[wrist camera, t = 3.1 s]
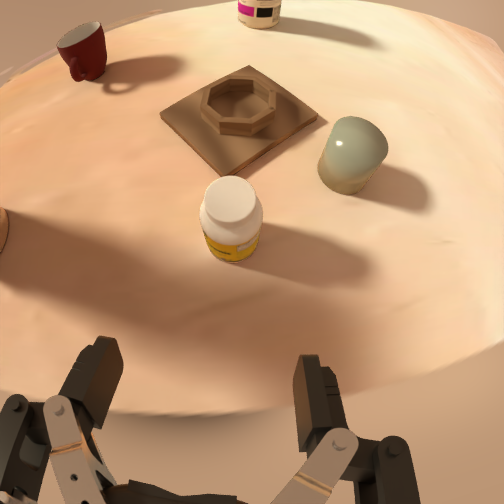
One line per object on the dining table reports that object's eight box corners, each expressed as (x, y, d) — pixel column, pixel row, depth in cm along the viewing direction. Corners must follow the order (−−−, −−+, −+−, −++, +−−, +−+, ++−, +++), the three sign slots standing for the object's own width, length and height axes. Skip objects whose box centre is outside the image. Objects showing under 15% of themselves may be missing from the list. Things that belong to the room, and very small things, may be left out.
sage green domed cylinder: (345, 204, 33) (367, 173, 26) (307, 167, 34) (320, 131, 27) (374, 177, 34) (397, 146, 28) (338, 143, 35) (355, 109, 29)
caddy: (225, 181, 33) (223, 163, 29) (161, 118, 35) (155, 100, 32) (316, 119, 36) (322, 101, 33) (248, 70, 39) (249, 53, 36)
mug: (111, 88, 38) (93, 43, 28) (69, 103, 37) (46, 62, 27) (117, 56, 40) (104, 16, 31) (79, 69, 40) (63, 32, 30)
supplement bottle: (196, 235, 31) (180, 191, 21) (237, 207, 32) (237, 155, 23) (227, 275, 30) (222, 245, 20) (268, 244, 31) (281, 203, 22)
